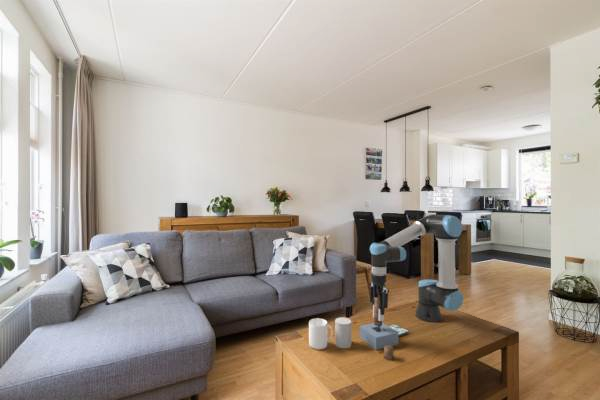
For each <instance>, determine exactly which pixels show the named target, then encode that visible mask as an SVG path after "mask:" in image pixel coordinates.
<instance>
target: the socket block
mask: <svg viewBox="0 0 600 400" xmlns="http://www.w3.org/2000/svg"><path fill="white" fill-rule="evenodd" d="M399 335H400V334H399V332H398V331H396V330H395V329H394V328H392V327H390V326H389V325H387V324H386V323H384V322H382V326H375V325H374V322H372V323H367V324H362V325H359V338H360V339H361V340H363V341H364V342H365V343H366V344H368V345H369V346H370V347H372V348H373V349H374V350H376V351H377V350H382V349H384V346H385V345H390V346H392V347H393V346H394V347H395V346H397V345H399V340H400V339H399Z"/></svg>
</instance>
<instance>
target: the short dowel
mask: <svg viewBox="0 0 600 400" xmlns="http://www.w3.org/2000/svg"><path fill="white" fill-rule="evenodd" d="M383 351H384V352H383V358H384V359H385V360H387V361H393V360H394V347H393V346H390V345H385V346H384V348H383Z"/></svg>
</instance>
